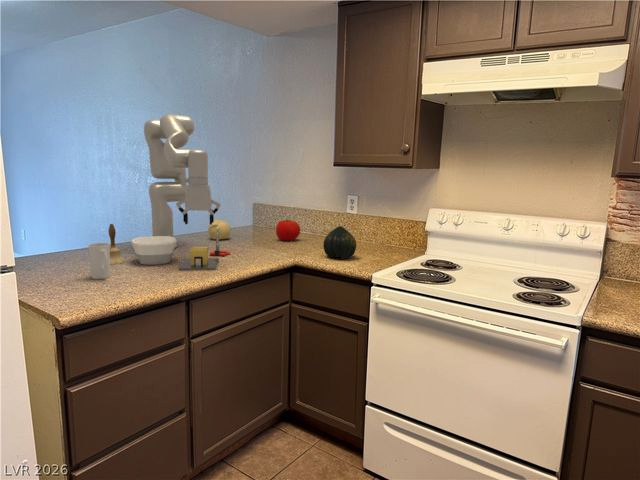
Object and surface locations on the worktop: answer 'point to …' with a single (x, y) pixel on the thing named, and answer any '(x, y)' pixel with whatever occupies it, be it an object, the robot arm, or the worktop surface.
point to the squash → (339, 243)
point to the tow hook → (217, 251)
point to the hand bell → (114, 248)
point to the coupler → (199, 264)
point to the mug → (99, 260)
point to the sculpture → (223, 229)
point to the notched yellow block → (199, 254)
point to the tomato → (287, 230)
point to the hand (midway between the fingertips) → (198, 224)
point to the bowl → (154, 249)
